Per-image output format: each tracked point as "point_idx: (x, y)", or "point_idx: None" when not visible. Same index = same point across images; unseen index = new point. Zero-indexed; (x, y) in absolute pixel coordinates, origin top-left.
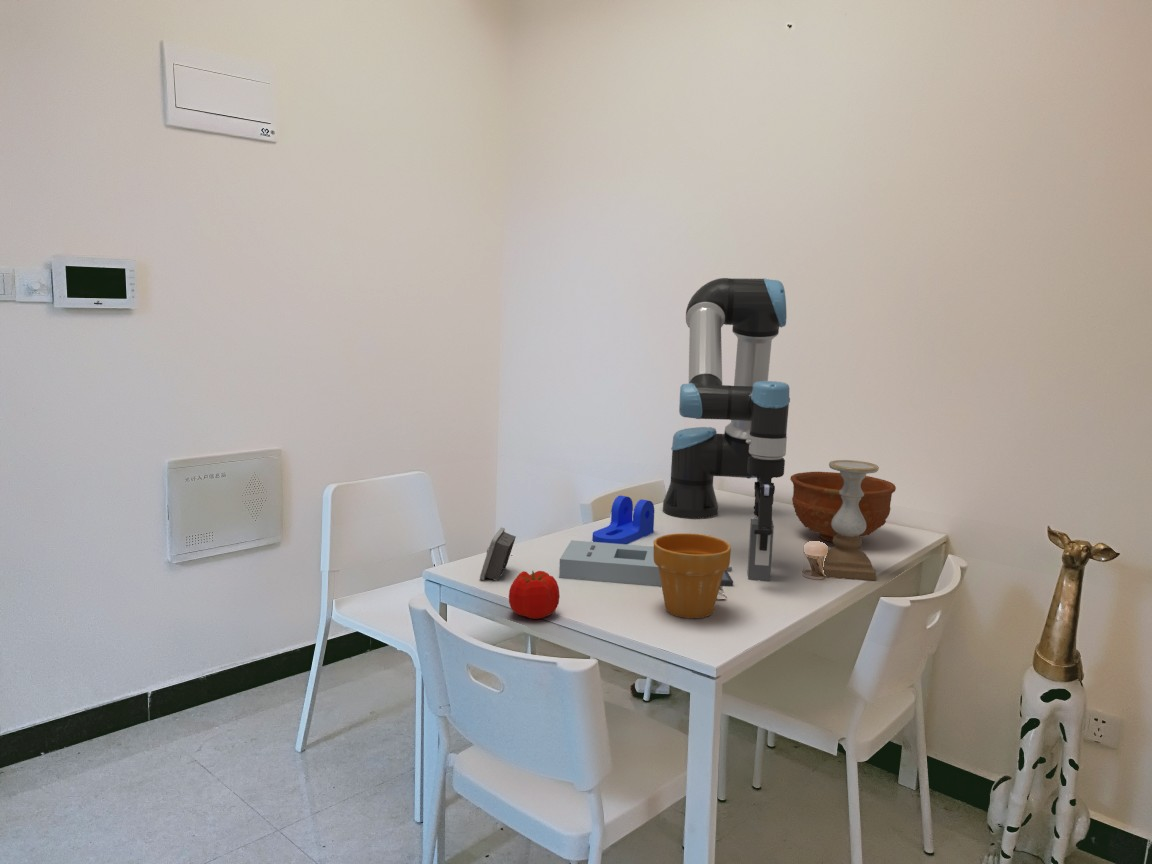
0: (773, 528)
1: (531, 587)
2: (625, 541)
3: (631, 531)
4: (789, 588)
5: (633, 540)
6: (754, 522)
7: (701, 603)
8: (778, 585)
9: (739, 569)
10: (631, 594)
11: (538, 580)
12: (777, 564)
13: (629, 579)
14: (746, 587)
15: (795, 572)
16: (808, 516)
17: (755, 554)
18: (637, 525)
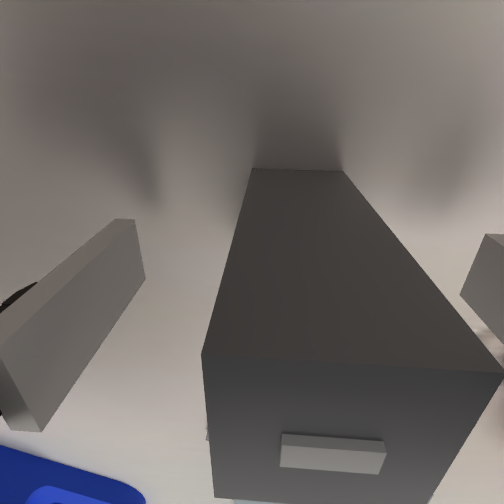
0: (483, 345)
1: None
2: (110, 488)
3: (51, 492)
4: (437, 87)
5: (76, 470)
6: (349, 494)
7: None
8: (394, 138)
9: (217, 270)
10: (461, 482)
11: None
12: (90, 112)
13: None
14: (419, 263)
15: (181, 22)
16: None
17: (496, 329)
18: (27, 501)
